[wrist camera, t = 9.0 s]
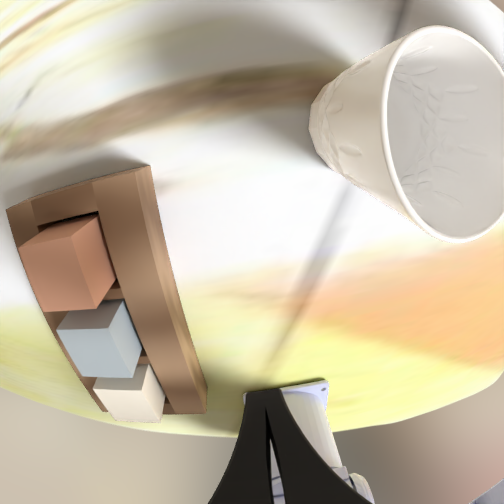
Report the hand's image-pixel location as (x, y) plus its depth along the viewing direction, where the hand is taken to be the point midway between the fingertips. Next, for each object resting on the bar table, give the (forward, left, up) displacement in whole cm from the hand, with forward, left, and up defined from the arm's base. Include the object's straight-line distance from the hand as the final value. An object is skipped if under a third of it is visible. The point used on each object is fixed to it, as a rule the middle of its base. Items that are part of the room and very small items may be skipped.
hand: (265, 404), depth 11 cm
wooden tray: (-1, +10, -10) cm, 14 cm away
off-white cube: (-6, +10, -9) cm, 15 cm away
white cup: (+10, -8, -10) cm, 16 cm away
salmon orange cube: (+5, +10, -8) cm, 14 cm away
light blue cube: (-1, +10, -8) cm, 13 cm away
